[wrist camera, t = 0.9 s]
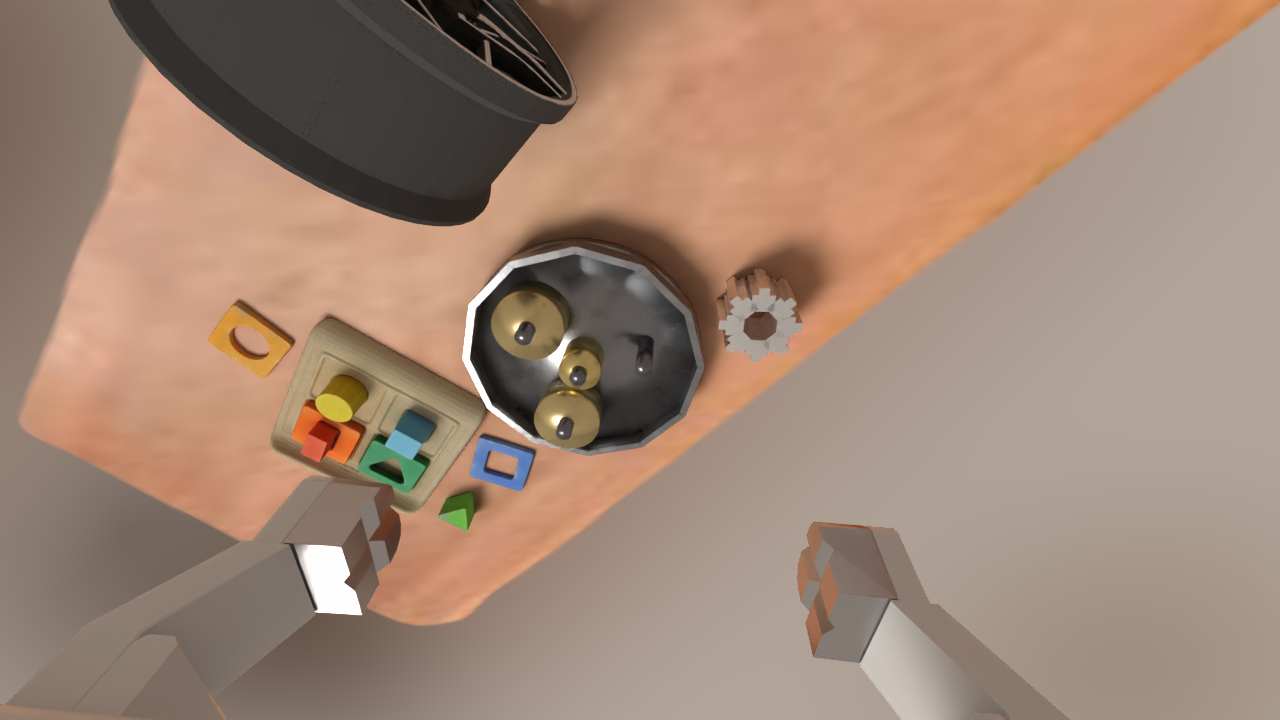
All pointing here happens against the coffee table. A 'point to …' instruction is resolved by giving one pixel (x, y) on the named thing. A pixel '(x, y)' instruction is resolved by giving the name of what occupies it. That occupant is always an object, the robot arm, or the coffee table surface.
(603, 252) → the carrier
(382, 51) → the wheel rim
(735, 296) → the planet gear
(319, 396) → the shape sorter
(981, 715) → the robot arm
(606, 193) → the coffee table surface
